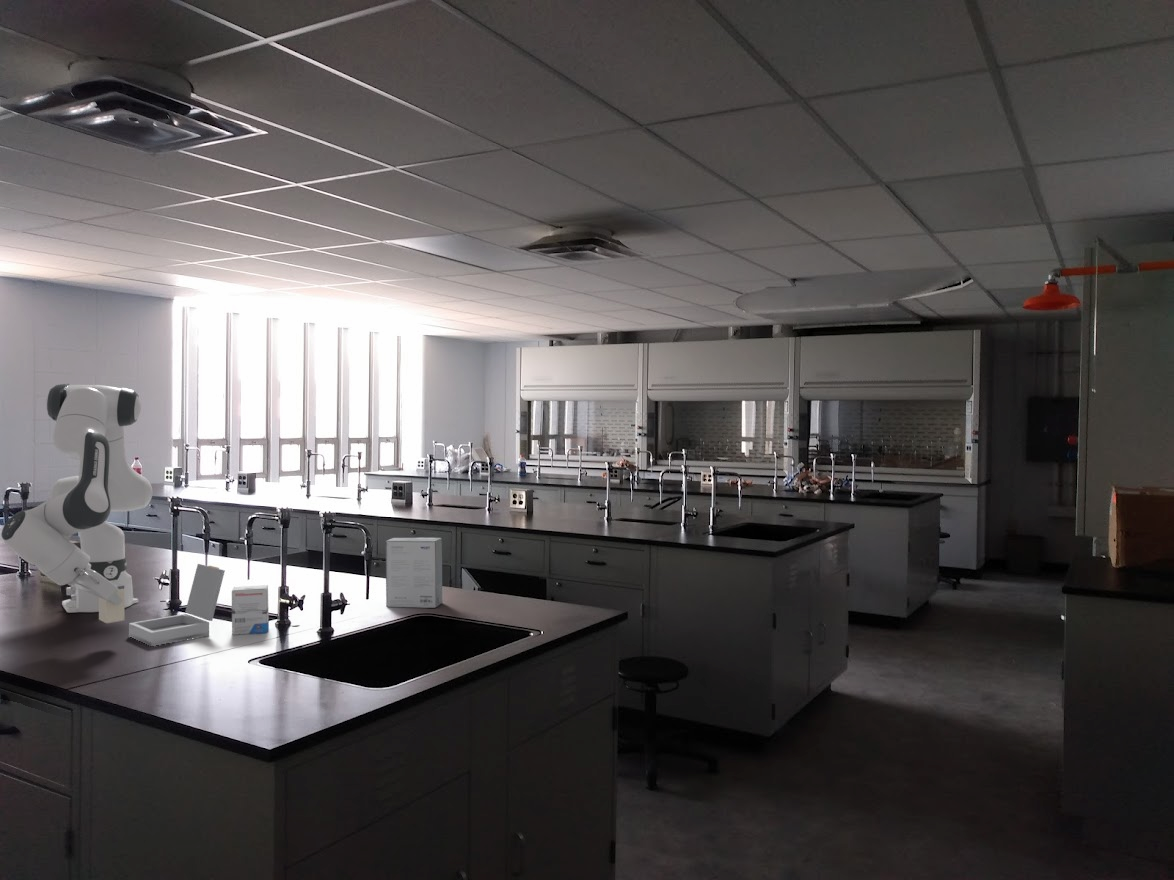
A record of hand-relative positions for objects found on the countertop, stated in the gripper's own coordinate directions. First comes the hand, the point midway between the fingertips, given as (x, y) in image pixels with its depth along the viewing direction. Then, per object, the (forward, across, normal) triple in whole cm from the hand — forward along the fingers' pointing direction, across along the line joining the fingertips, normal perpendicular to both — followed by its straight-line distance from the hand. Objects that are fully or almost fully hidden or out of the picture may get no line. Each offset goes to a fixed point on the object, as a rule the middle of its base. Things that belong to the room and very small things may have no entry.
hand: (114, 600), depth 201 cm
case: (+16, -2, -1) cm, 16 cm away
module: (+3, 0, +4) cm, 5 cm away
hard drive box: (+62, -18, -46) cm, 79 cm away
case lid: (+15, -1, -14) cm, 21 cm away
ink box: (+28, -12, -12) cm, 33 cm away
